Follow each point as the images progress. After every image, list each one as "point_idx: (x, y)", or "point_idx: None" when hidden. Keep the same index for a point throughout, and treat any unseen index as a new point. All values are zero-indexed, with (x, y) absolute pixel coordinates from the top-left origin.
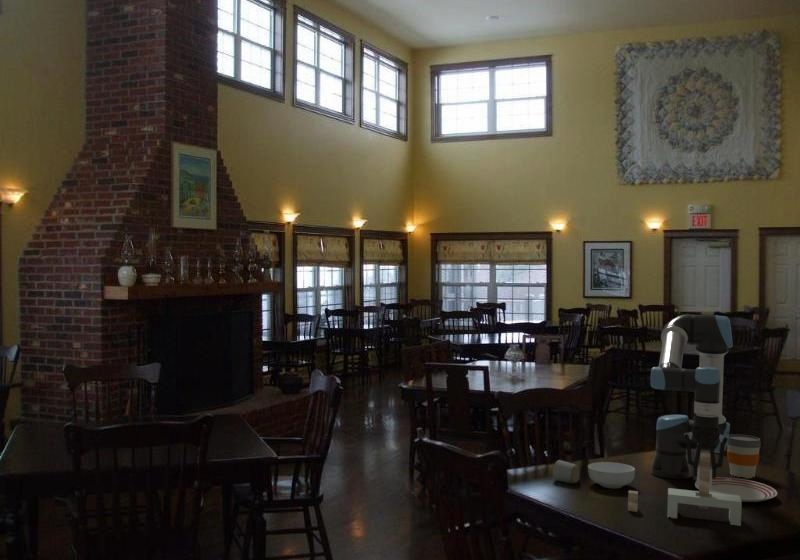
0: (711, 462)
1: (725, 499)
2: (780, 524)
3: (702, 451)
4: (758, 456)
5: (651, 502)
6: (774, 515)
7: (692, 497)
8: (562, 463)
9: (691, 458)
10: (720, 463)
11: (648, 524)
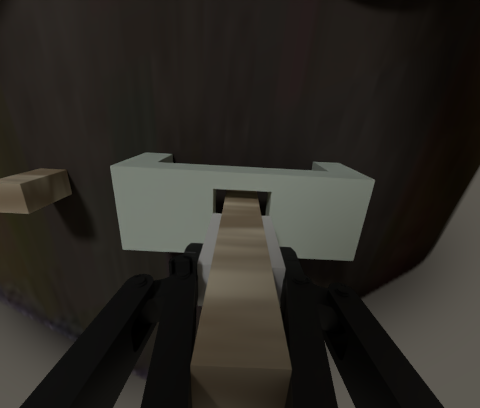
0: (286, 301)
1: (306, 248)
2: (440, 178)
3: (213, 389)
4: None
5: (86, 69)
6: (470, 82)
7: None
8: None
9: (140, 351)
10: (338, 343)
11: (118, 280)
